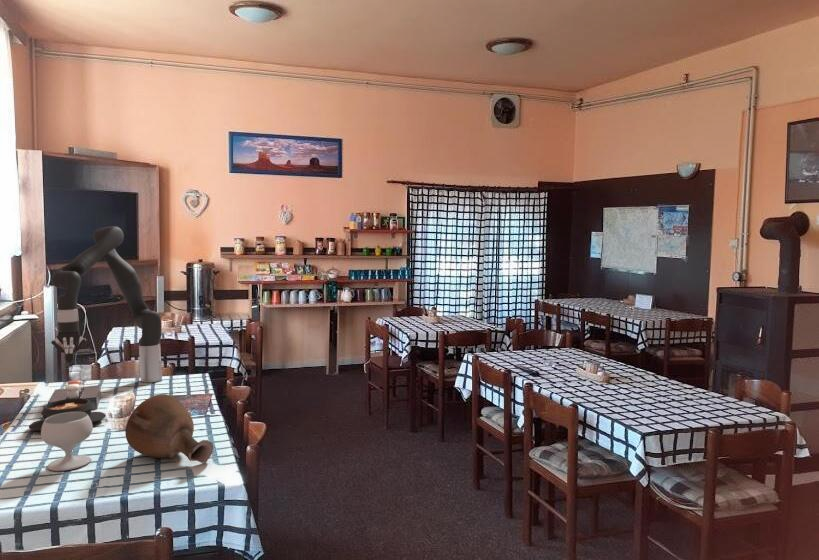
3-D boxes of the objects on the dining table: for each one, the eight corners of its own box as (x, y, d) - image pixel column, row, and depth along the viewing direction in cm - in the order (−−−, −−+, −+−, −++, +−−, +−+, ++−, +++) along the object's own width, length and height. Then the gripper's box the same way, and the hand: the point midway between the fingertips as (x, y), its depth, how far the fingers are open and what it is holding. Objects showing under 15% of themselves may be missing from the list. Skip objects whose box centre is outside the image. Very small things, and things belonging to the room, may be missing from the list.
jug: (117, 455, 200) (177, 492, 184) (108, 402, 193) (169, 436, 177) (172, 426, 215) (231, 457, 200) (165, 376, 208) (225, 404, 193)
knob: (81, 397, 252) (80, 383, 251) (79, 401, 247) (78, 386, 247) (67, 399, 250) (66, 384, 249) (65, 402, 245) (64, 387, 245)
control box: (101, 396, 268) (100, 385, 267) (97, 409, 249) (96, 397, 249) (56, 401, 262) (55, 389, 261) (48, 414, 243) (47, 402, 243)
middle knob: (82, 393, 258) (82, 379, 258) (81, 396, 254) (80, 382, 253) (69, 394, 257) (68, 380, 256) (67, 397, 252) (66, 383, 251)
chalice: (83, 452, 203) (80, 407, 201) (102, 462, 194) (99, 415, 193) (35, 466, 192) (32, 418, 191) (54, 477, 183) (51, 427, 182)
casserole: (29, 439, 216) (27, 416, 215) (29, 425, 231) (27, 403, 231) (108, 426, 228) (107, 404, 228) (103, 413, 244) (102, 392, 243)
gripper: (87, 318, 258) (89, 359, 260) (51, 319, 254) (53, 361, 255) (85, 320, 251) (86, 363, 253) (47, 322, 247) (49, 365, 248)
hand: (69, 362), depth 254 cm, fingers closed
